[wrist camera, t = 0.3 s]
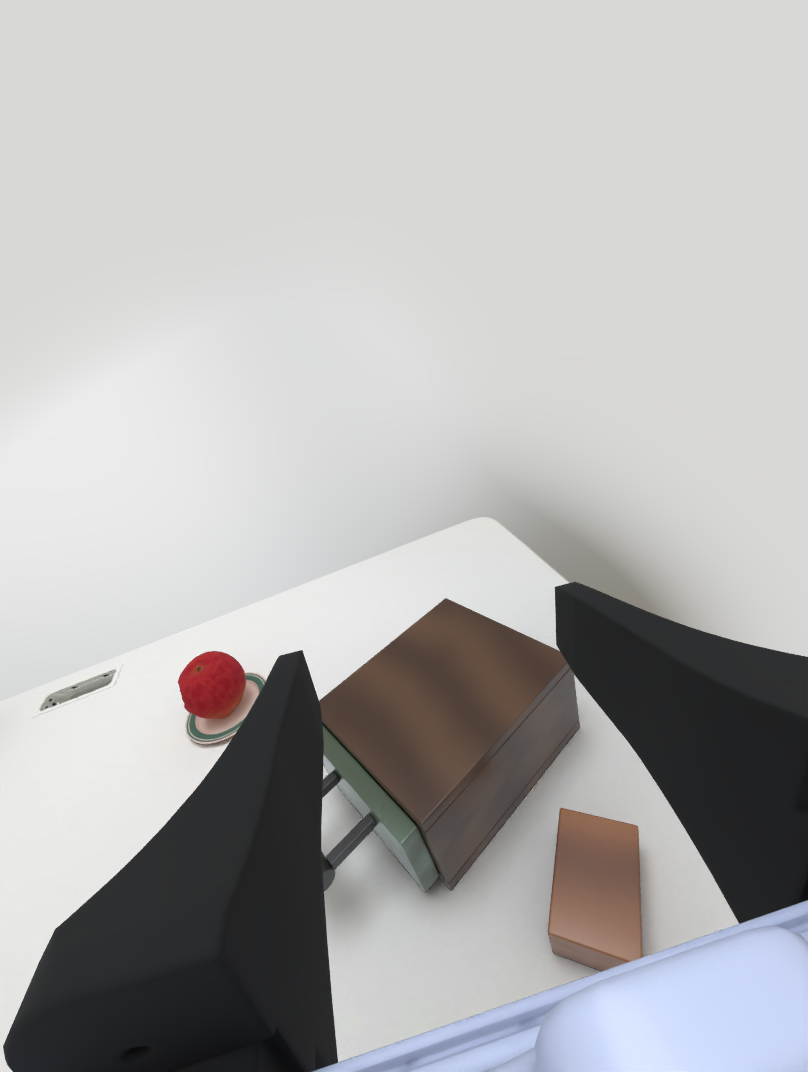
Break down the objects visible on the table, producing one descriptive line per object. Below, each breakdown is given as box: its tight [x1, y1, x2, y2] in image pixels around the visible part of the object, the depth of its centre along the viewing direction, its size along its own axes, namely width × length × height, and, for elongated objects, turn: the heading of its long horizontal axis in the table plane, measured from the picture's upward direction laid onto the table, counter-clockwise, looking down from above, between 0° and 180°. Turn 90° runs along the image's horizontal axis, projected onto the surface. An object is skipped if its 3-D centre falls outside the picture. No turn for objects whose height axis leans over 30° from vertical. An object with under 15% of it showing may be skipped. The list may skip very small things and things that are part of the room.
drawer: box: [321, 724, 439, 892], centre depth 30 cm, size 17×10×5 cm, turn 131°
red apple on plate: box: [178, 651, 266, 744], centre depth 42 cm, size 8×8×6 cm
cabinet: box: [319, 598, 580, 890], centre depth 32 cm, size 14×12×7 cm
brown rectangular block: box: [548, 808, 642, 971], centre depth 23 cm, size 6×4×2 cm, turn 158°
